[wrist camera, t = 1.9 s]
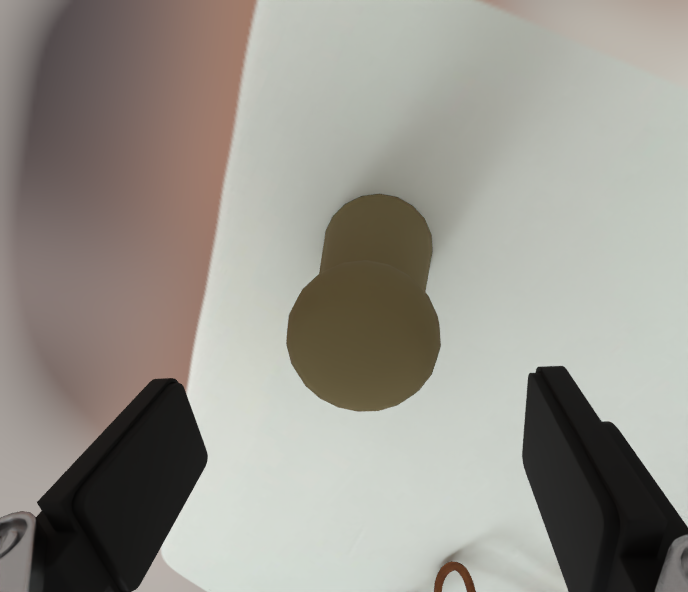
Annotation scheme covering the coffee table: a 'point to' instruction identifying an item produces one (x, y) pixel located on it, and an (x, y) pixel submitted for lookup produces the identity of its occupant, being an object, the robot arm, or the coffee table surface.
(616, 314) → the coffee table surface
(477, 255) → the coffee table surface
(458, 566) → the glasses
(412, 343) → the tan pawn
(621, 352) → the coffee table surface
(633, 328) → the coffee table surface
